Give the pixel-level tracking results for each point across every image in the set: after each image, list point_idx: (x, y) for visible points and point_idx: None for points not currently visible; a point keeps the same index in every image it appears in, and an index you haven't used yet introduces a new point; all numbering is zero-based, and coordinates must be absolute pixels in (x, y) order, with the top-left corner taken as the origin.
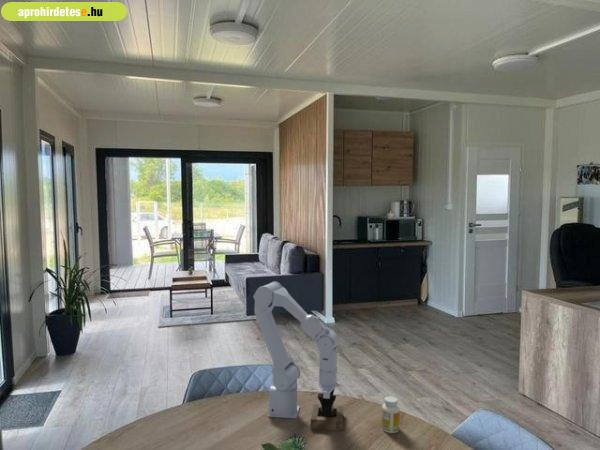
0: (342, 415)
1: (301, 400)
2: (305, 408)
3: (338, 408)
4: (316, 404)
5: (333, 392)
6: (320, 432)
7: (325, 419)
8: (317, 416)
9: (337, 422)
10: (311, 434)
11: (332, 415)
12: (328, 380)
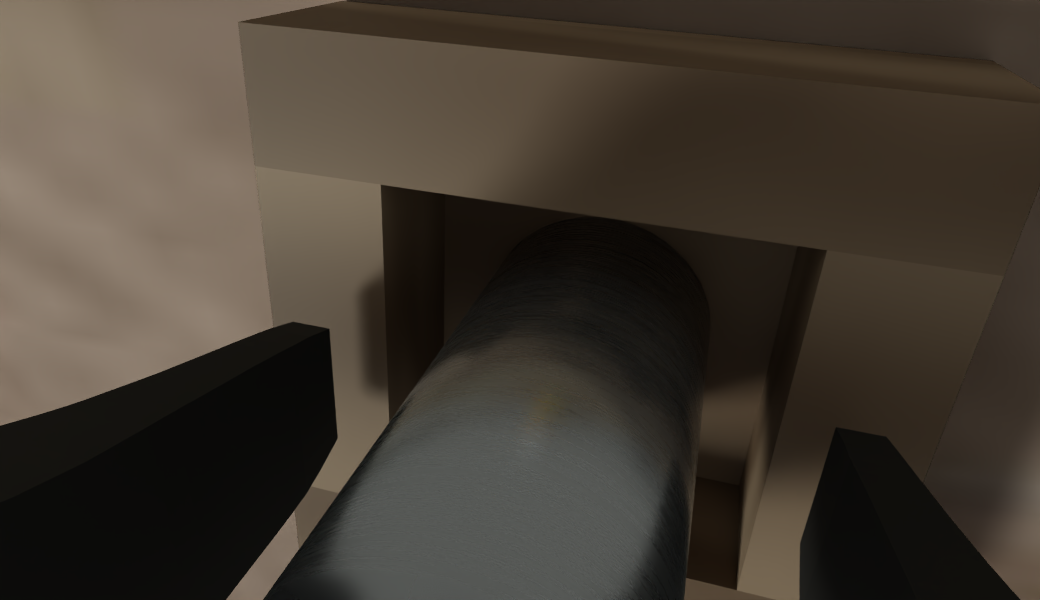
0: (722, 79)
1: None
2: (280, 529)
3: (374, 147)
4: (303, 520)
5: (84, 464)
6: (973, 462)
7: None
8: (737, 589)
9: (1007, 229)
10: (1011, 588)
11: (653, 300)
12: None
